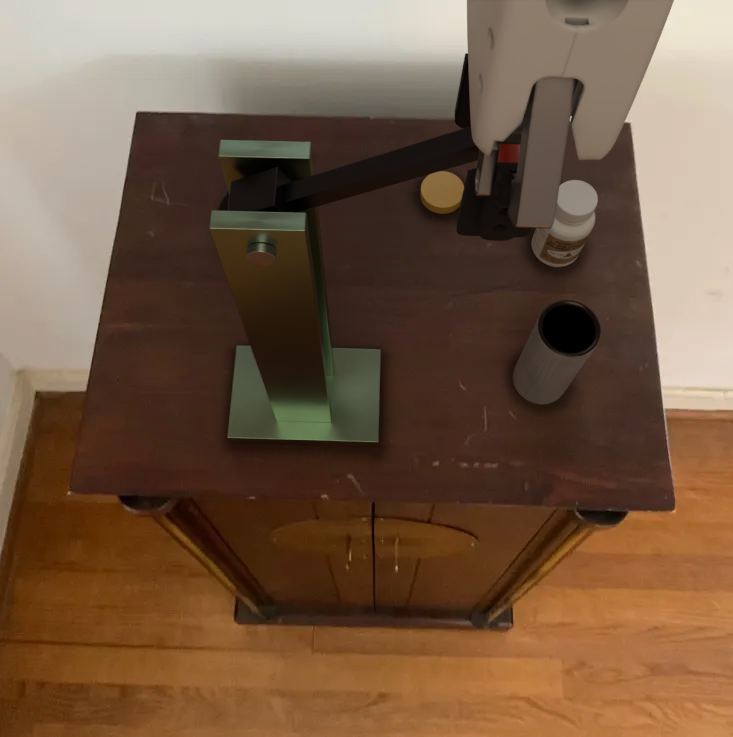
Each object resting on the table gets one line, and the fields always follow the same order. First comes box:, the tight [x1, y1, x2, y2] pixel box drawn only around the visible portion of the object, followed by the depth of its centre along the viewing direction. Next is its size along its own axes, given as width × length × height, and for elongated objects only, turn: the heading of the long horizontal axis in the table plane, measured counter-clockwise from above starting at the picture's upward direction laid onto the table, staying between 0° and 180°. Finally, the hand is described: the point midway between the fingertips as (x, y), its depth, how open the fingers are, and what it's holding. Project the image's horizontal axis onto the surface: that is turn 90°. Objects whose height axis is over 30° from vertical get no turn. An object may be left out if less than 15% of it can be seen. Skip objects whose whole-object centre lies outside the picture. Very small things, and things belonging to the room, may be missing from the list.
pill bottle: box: [531, 179, 599, 268], centre depth 65 cm, size 4×4×8 cm
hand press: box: [208, 139, 382, 448], centre depth 50 cm, size 12×8×30 cm, turn 88°
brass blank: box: [419, 170, 465, 215], centre depth 71 cm, size 4×4×1 cm
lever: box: [228, 126, 520, 213], centre depth 35 cm, size 14×5×2 cm, turn 88°
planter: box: [512, 299, 602, 405], centre depth 59 cm, size 4×4×10 cm
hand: (490, 172), depth 35 cm, fingers closed on lever, 5 cm apart
